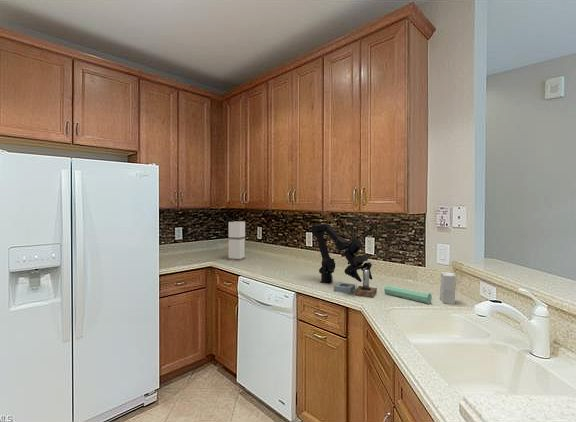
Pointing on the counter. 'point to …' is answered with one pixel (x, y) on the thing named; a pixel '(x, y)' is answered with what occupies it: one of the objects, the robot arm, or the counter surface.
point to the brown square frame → (365, 292)
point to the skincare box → (447, 287)
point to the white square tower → (236, 241)
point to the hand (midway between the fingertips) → (366, 280)
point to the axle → (366, 279)
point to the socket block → (344, 287)
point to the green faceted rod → (408, 294)
